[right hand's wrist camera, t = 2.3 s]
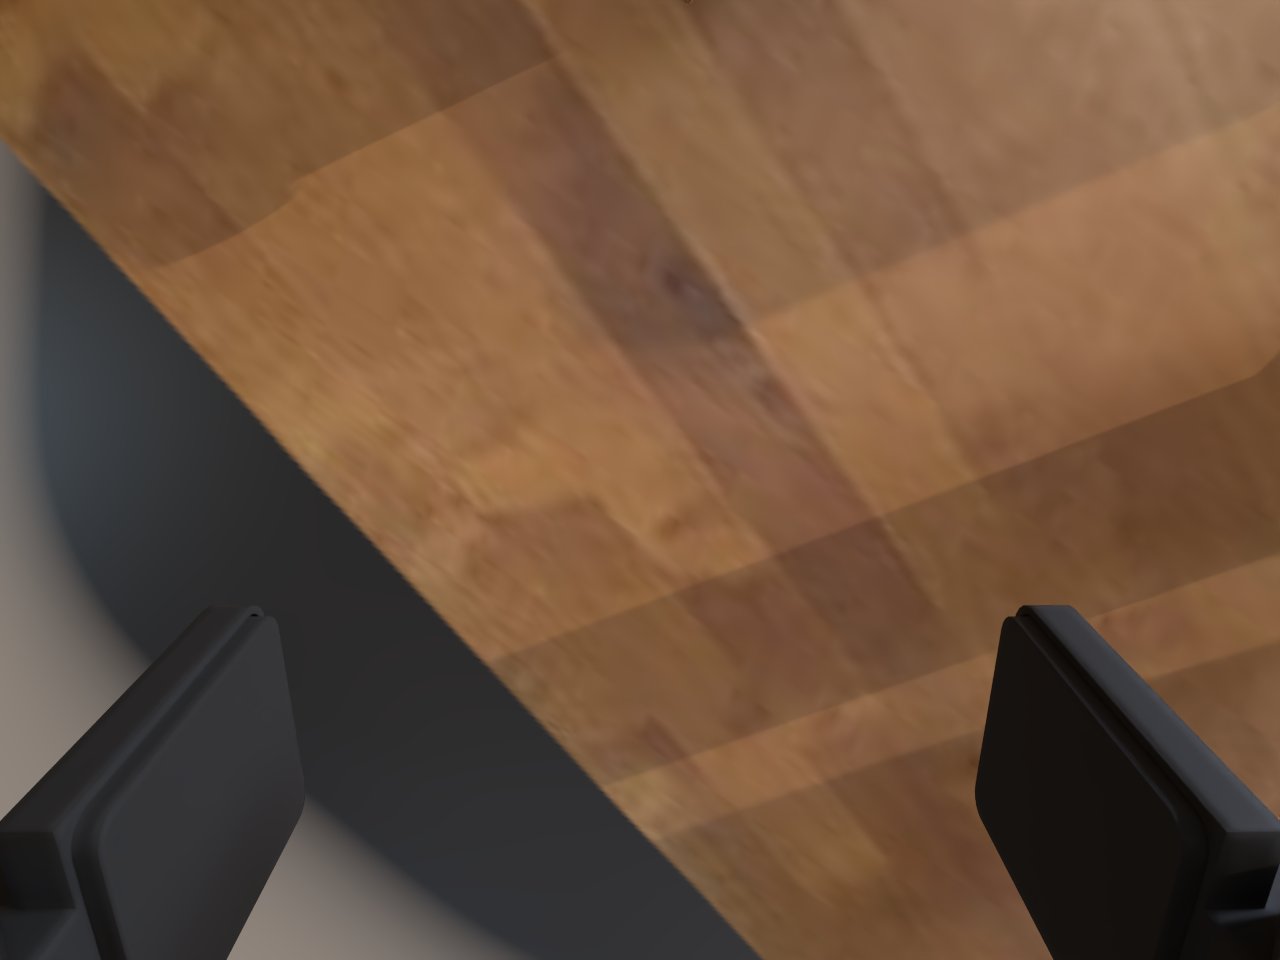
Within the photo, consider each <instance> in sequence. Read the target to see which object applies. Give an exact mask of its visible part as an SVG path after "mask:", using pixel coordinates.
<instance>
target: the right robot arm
mask: <svg viewBox="0 0 1280 960" xmlns="http://www.w3.org/2000/svg"><path fill="white" fill-rule="evenodd" d="M304 799H305V785H304V779H303V773H302V767H301V761H300V755H299V749H298V743H297V737H296V731H295V725H294V719H293V713H292V707H291V701H290V695H289V689H288V683H287V677H286V671H285V665H284V659H283V653H282V647H281V641H280V635H279V629H278V625H277V622H276V620H275V619H274V618H273V617H265V616H264V613H263V612H262V610H261V608H259V607H258V606H257V605H214V606H209V607H208V608H206V609H205V610H204V611H203V612H202V613H201V614H200V615H199V616H198V617H197V618H196V619H195V620H194V621H193V622H192V623H191V624H190V625H189V626H188V627H187V628H186V629H185V630H184V632H183V633H182V634H181V635H180V636H179V637H178V638H177V639H176V640H175V641H174V642H173V643H172V644H171V645H170V646H169V647H168V648H167V649H166V650H165V651H164V652H163V653H162V654H161V655H160V656H159V657H158V658H157V659H156V660H155V662H154V663H153V664H152V665H151V666H150V667H149V668H148V669H147V670H146V671H145V672H144V673H143V674H142V675H141V676H140V677H139V678H138V679H137V680H136V681H135V682H134V683H133V684H132V685H131V686H130V687H129V688H128V689H127V690H126V692H125V693H124V694H123V695H122V696H121V697H120V698H119V699H118V700H117V701H116V702H115V703H114V704H113V705H112V706H111V707H110V708H109V709H108V710H107V711H106V712H105V713H104V714H103V715H102V716H101V718H99V719H98V721H97V722H96V723H95V724H94V725H93V726H92V727H91V728H90V729H89V730H88V731H87V732H86V733H85V734H84V735H83V736H82V737H81V738H80V739H79V740H78V741H77V742H76V743H75V744H74V745H73V746H72V747H71V748H70V750H68V752H67V753H66V754H65V755H64V756H63V757H62V758H61V759H60V760H59V761H58V762H57V763H56V764H55V765H54V766H53V767H52V768H51V769H50V770H49V771H48V772H47V773H46V774H45V775H44V776H43V777H42V778H41V779H40V781H39V782H38V783H37V784H36V785H35V786H34V787H33V788H32V789H31V790H30V791H29V792H28V793H27V794H26V795H25V796H24V797H23V798H22V799H21V800H20V801H19V802H18V803H17V804H16V805H15V806H14V807H13V808H12V809H11V811H10V812H9V813H8V814H7V815H6V816H5V817H4V818H3V819H2V820H1V821H0V960H227V957H228V956H229V954H230V952H231V950H232V948H233V946H234V944H235V942H236V940H237V938H238V936H239V934H240V932H241V930H242V929H243V926H244V925H245V923H246V921H247V919H248V917H249V915H250V913H251V911H252V909H253V907H254V905H255V903H256V901H257V899H258V898H259V896H260V894H261V892H262V890H263V888H264V886H265V884H266V882H267V880H268V878H269V876H270V874H271V872H272V870H273V869H274V867H275V865H276V863H277V861H278V859H279V857H280V855H281V853H282V851H283V849H284V847H285V845H286V843H287V841H288V839H289V838H290V836H291V834H292V832H293V830H294V828H295V826H296V824H297V822H298V820H299V818H300V816H301V813H302V810H303V806H304ZM975 799H976V806H977V810H978V813H979V816H980V818H981V820H982V822H983V824H984V826H985V828H986V830H987V832H988V834H989V836H990V838H991V840H992V841H993V843H994V845H995V847H996V849H997V851H998V853H999V855H1000V857H1001V859H1002V861H1003V863H1004V865H1005V867H1006V869H1007V870H1008V872H1009V874H1010V876H1011V878H1012V880H1013V882H1014V884H1015V886H1016V888H1017V890H1018V892H1019V894H1020V896H1021V898H1022V900H1023V901H1024V903H1025V905H1026V907H1027V909H1028V911H1029V913H1030V915H1031V917H1032V919H1033V921H1034V923H1035V925H1036V927H1037V929H1038V930H1039V932H1040V934H1041V936H1042V938H1043V940H1044V942H1045V944H1046V946H1047V948H1048V950H1049V952H1050V954H1051V956H1052V958H1053V960H1280V821H1279V820H1278V819H1277V818H1276V817H1275V816H1274V815H1273V814H1272V813H1271V812H1270V811H1269V809H1268V808H1267V807H1266V806H1265V805H1264V804H1263V803H1262V802H1261V801H1260V800H1259V799H1258V798H1257V797H1256V796H1255V795H1254V794H1253V793H1252V792H1251V791H1250V790H1249V789H1248V788H1247V787H1246V786H1245V785H1244V784H1243V783H1242V782H1241V780H1240V779H1239V778H1238V777H1237V776H1236V775H1235V774H1234V773H1233V772H1232V771H1231V770H1230V769H1229V768H1228V767H1227V766H1226V765H1225V764H1224V763H1223V762H1222V761H1221V760H1220V759H1219V758H1218V757H1217V756H1216V755H1215V754H1214V753H1213V752H1212V750H1211V749H1210V748H1209V747H1208V746H1207V745H1206V744H1205V743H1204V742H1203V741H1202V740H1201V739H1200V738H1199V737H1198V736H1197V735H1196V734H1195V733H1194V732H1193V731H1192V730H1191V729H1190V728H1189V727H1188V726H1187V725H1186V724H1185V723H1184V722H1183V720H1182V719H1181V718H1180V717H1179V716H1178V715H1177V714H1176V713H1175V712H1174V711H1173V710H1172V709H1171V708H1170V707H1169V706H1168V705H1167V704H1166V703H1165V702H1164V701H1163V700H1162V699H1161V698H1160V697H1159V696H1158V695H1157V694H1156V693H1155V692H1154V690H1153V689H1152V688H1151V687H1150V686H1149V685H1148V684H1147V683H1146V682H1145V681H1144V680H1143V679H1142V678H1141V677H1140V676H1139V675H1138V674H1137V673H1136V672H1135V671H1134V670H1133V669H1132V668H1131V667H1130V666H1129V665H1128V664H1127V663H1126V662H1125V660H1124V659H1123V658H1122V657H1121V656H1120V655H1119V654H1118V653H1117V652H1116V651H1115V650H1114V649H1113V648H1112V647H1111V646H1110V645H1109V644H1108V643H1107V642H1106V641H1105V640H1104V639H1103V638H1102V637H1101V636H1100V635H1099V634H1098V633H1097V632H1096V630H1095V629H1094V628H1093V627H1092V626H1091V625H1090V624H1089V623H1088V622H1087V621H1086V620H1085V619H1084V618H1083V617H1082V616H1081V615H1080V614H1079V613H1078V612H1077V611H1076V610H1075V609H1074V608H1072V607H1071V606H1066V605H1023V606H1022V607H1020V608H1019V610H1018V612H1017V613H1016V616H1015V617H1007V618H1006V619H1005V620H1004V622H1003V625H1002V629H1001V635H1000V641H999V647H998V653H997V659H996V665H995V671H994V677H993V683H992V689H991V695H990V701H989V707H988V713H987V719H986V725H985V731H984V737H983V743H982V749H981V755H980V761H979V767H978V773H977V779H976V785H975Z"/></svg>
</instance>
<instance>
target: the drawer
mask: <svg viewBox="0 0 1280 960" xmlns="http://www.w3.org/2000/svg"><path fill="white" fill-rule="evenodd" d="M682 1H683V2H684V3H686V4H687V5H690V4H691V3H692V1H693V0H682Z"/></svg>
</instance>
